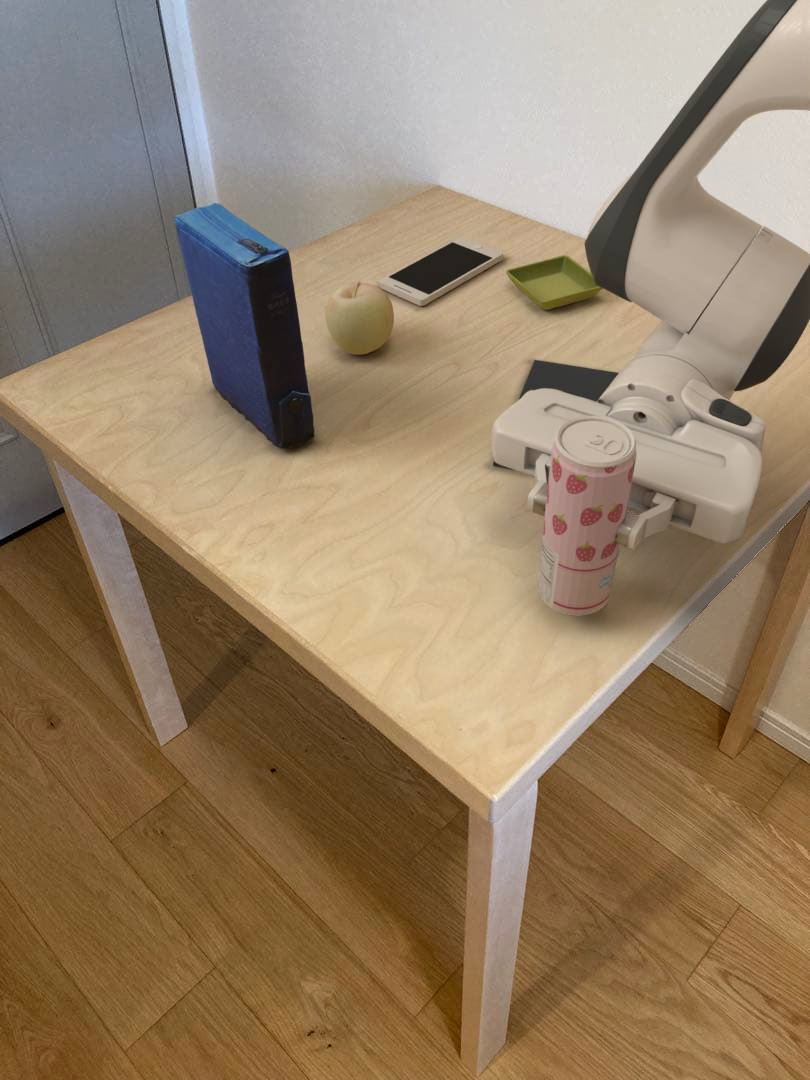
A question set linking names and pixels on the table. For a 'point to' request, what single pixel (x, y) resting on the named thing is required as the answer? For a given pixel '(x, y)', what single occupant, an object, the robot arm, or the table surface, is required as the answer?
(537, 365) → the mat
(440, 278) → the smartphone
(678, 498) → the robot arm
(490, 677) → the table surface
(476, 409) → the table surface
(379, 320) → the fruit
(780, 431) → the table surface
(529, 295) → the saucer
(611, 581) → the beverage can
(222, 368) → the book
